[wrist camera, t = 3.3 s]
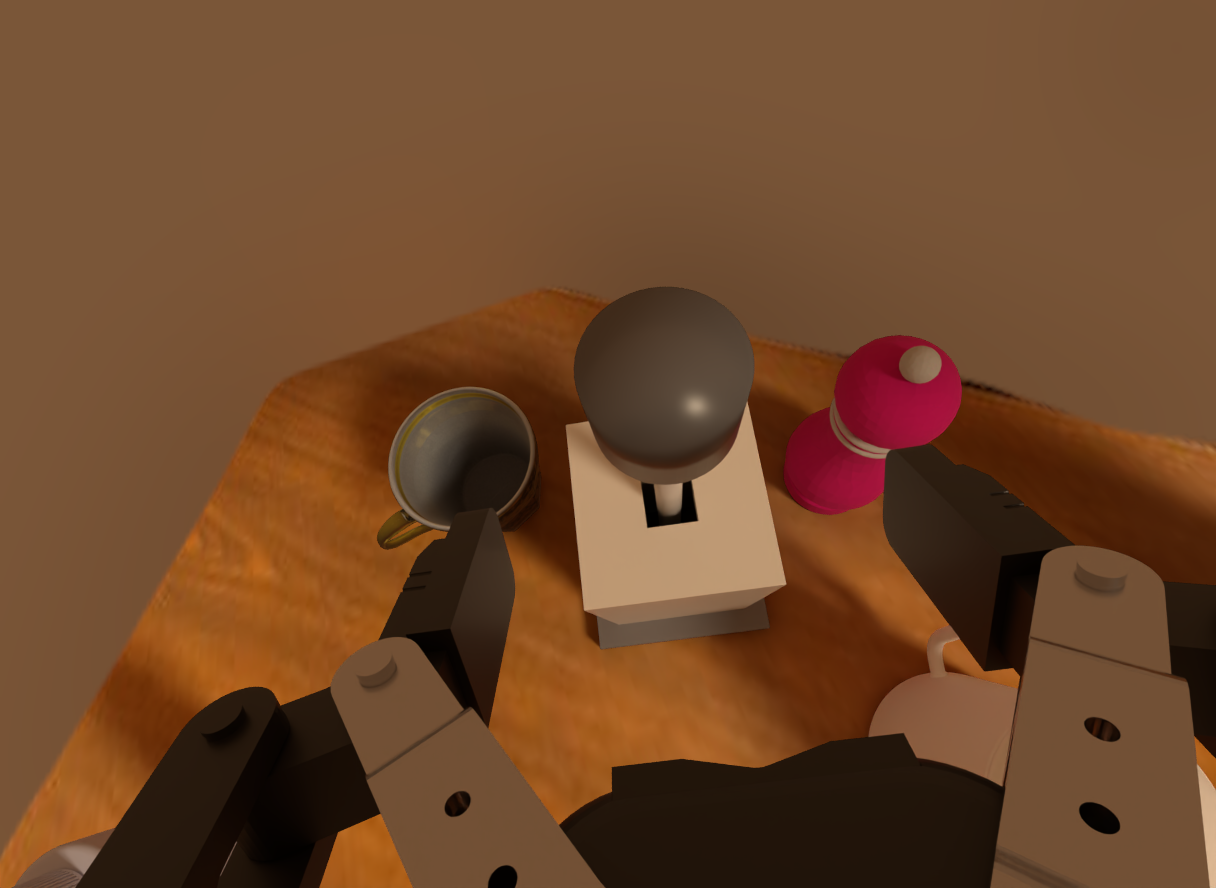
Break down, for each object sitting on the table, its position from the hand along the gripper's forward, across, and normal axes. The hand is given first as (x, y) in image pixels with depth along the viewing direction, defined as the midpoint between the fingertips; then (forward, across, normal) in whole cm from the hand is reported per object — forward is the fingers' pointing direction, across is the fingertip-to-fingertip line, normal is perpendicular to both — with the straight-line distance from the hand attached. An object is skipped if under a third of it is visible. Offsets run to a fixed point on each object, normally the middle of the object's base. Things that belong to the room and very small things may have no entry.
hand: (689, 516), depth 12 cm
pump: (+18, 0, +12) cm, 22 cm away
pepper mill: (+30, -13, +18) cm, 37 cm away
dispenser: (+27, 0, +21) cm, 34 cm away
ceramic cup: (+31, +14, +17) cm, 38 cm away
